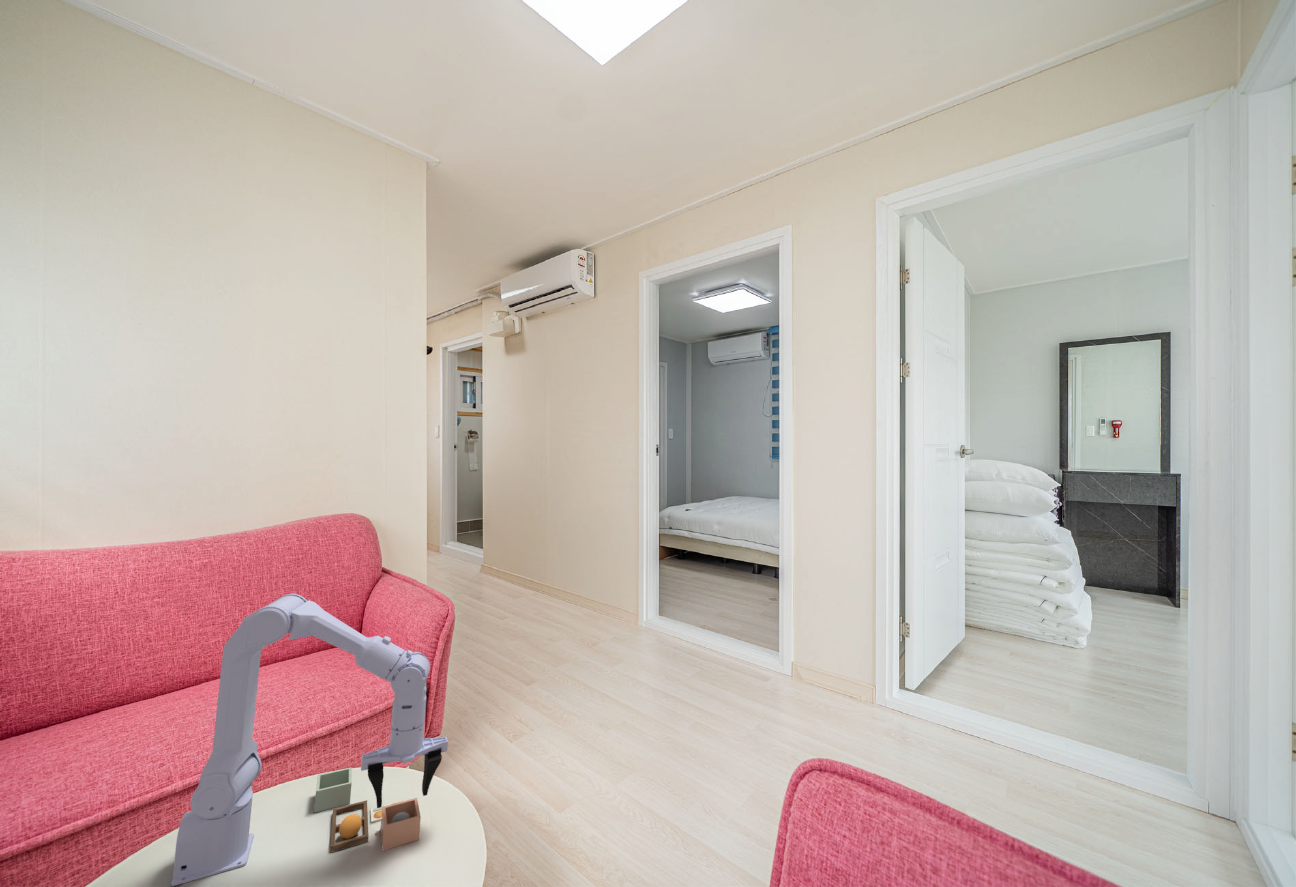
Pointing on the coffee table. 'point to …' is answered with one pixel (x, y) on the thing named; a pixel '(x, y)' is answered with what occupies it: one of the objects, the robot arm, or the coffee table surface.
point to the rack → (336, 827)
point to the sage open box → (333, 789)
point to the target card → (378, 812)
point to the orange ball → (350, 826)
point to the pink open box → (400, 824)
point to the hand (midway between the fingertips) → (402, 798)
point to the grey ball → (400, 817)
